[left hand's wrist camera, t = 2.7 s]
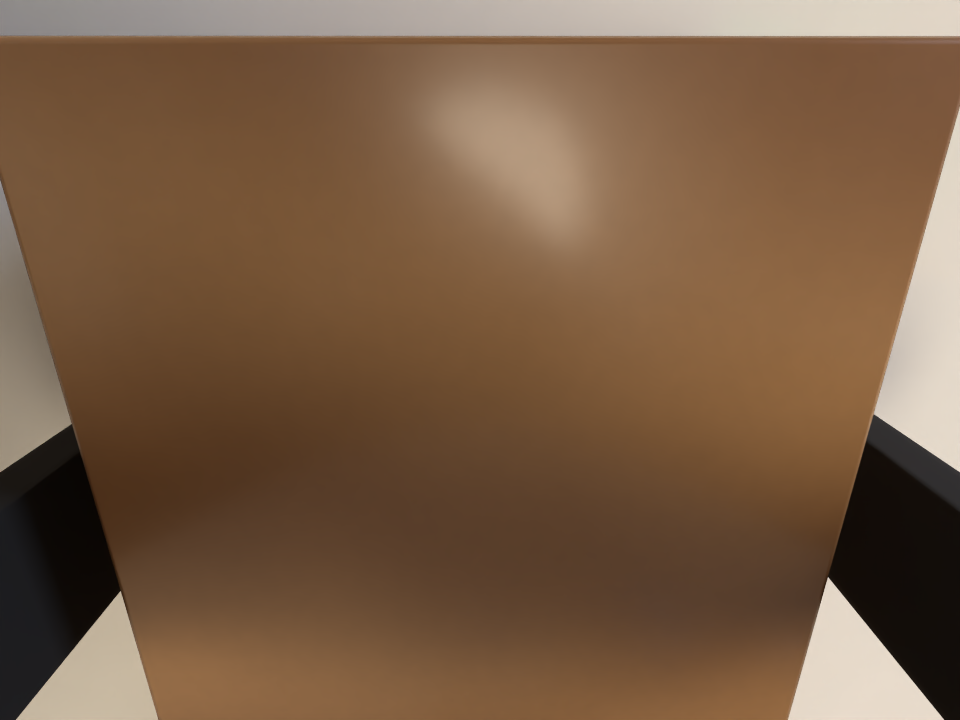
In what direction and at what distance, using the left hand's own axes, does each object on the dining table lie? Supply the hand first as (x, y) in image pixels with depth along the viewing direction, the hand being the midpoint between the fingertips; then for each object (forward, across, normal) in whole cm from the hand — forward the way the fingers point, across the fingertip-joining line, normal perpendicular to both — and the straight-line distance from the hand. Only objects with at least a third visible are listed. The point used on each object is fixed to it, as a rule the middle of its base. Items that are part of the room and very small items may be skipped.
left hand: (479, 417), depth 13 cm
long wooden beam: (+2, 0, -23) cm, 23 cm away
